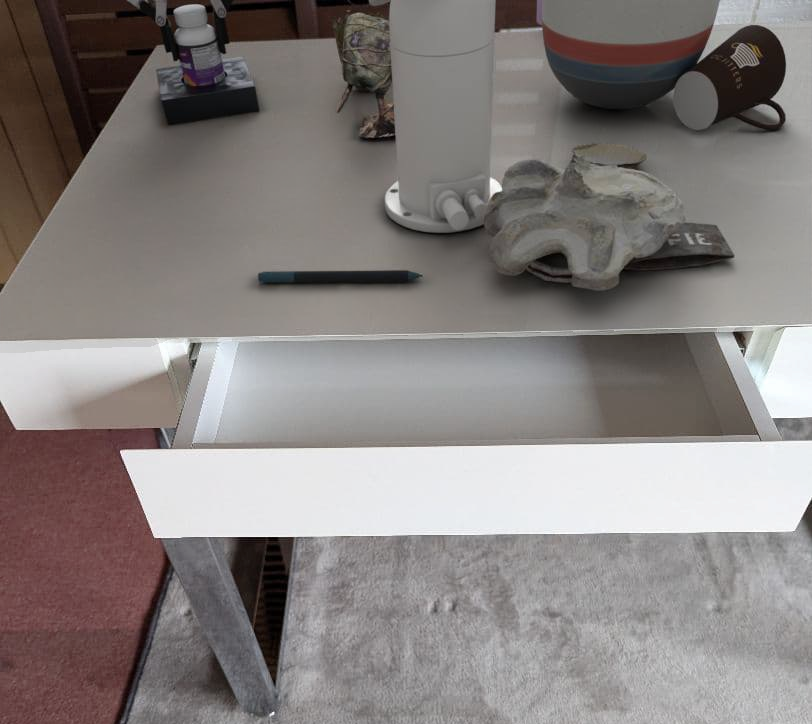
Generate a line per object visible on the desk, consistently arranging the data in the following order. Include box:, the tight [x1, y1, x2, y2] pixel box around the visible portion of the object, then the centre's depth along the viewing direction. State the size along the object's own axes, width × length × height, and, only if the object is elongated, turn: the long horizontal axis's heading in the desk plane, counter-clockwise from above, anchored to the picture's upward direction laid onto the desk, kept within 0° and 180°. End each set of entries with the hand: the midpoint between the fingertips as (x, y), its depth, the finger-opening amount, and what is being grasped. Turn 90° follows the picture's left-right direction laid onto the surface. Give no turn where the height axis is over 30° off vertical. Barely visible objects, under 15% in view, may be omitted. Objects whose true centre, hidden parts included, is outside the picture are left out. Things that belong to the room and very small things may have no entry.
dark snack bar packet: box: [525, 222, 735, 284], centre depth 75 cm, size 8×19×2 cm, turn 93°
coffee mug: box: [672, 24, 787, 131], centre depth 92 cm, size 12×9×10 cm
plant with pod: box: [335, 0, 395, 139], centre depth 91 cm, size 8×11×20 cm
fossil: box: [483, 154, 686, 292], centre depth 73 cm, size 18×11×15 cm
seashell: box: [571, 142, 647, 169], centre depth 87 cm, size 8×3×8 cm
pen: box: [257, 269, 424, 284], centre depth 75 cm, size 16×1×1 cm, turn 86°
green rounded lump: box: [332, 12, 389, 93], centre depth 105 cm, size 8×7×8 cm
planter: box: [541, 0, 721, 110], centre depth 92 cm, size 20×20×21 cm
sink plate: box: [155, 56, 260, 126], centre depth 106 cm, size 12×12×3 cm
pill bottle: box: [173, 3, 225, 86], centre depth 103 cm, size 5×5×10 cm
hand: (199, 52), depth 103 cm, fingers closed on pill bottle, 5 cm apart
